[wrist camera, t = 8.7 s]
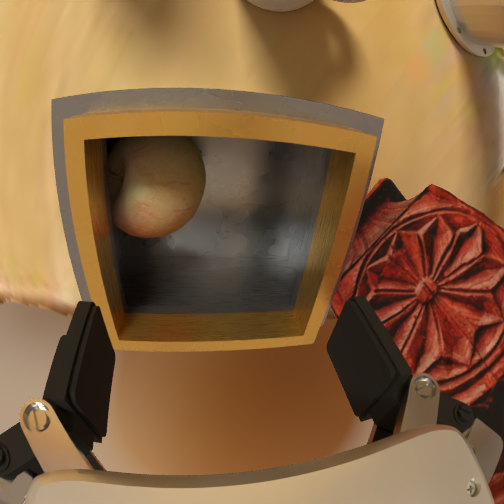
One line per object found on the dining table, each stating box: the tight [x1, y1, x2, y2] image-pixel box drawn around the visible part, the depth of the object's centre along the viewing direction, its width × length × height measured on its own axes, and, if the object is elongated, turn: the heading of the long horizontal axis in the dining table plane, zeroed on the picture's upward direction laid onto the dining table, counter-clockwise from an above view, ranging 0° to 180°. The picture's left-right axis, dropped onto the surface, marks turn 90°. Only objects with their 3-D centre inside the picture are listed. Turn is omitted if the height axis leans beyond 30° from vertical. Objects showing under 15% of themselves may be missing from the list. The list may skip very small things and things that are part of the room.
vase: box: [331, 178, 504, 504], centre depth 18 cm, size 14×14×30 cm
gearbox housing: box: [52, 88, 384, 352], centre depth 19 cm, size 18×16×12 cm
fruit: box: [107, 136, 206, 238], centre depth 18 cm, size 8×7×8 cm
